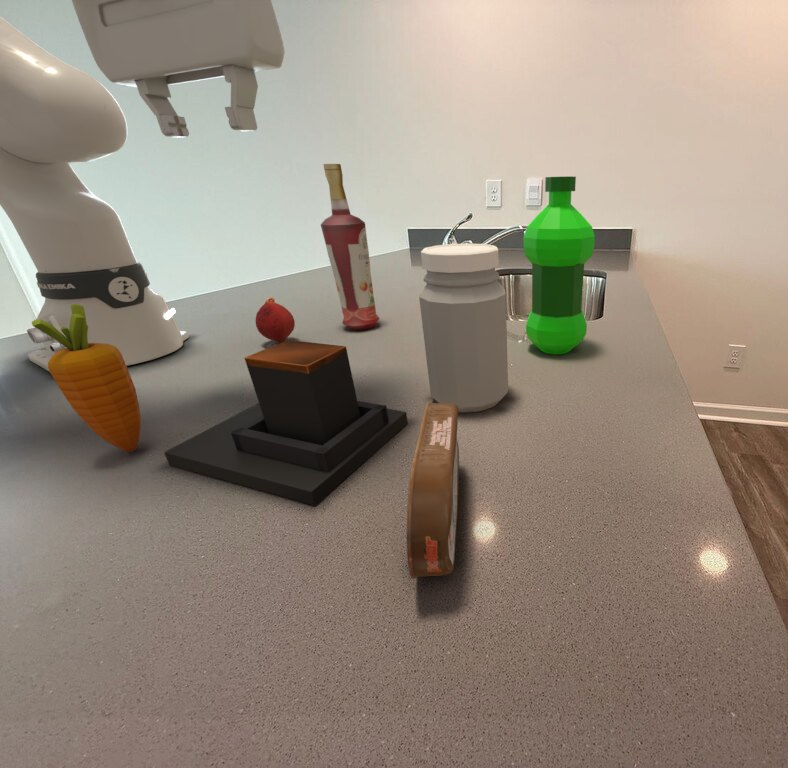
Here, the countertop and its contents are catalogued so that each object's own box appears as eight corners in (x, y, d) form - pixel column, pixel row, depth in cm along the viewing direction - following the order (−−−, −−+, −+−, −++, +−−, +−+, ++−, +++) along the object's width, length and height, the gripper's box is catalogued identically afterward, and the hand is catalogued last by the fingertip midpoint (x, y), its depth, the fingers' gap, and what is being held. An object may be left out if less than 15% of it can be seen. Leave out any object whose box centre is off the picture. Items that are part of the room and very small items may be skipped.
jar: (425, 387, 54) (407, 245, 46) (495, 376, 57) (489, 240, 49) (439, 423, 46) (420, 257, 38) (520, 407, 49) (518, 250, 41)
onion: (283, 349, 69) (270, 302, 65) (254, 347, 70) (240, 301, 66) (306, 338, 74) (295, 294, 70) (278, 336, 75) (266, 293, 71)
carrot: (110, 471, 39) (26, 318, 32) (92, 456, 41) (10, 311, 35) (171, 446, 42) (106, 304, 36) (151, 433, 45) (87, 298, 38)
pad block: (271, 442, 40) (243, 357, 36) (309, 417, 44) (288, 339, 40) (329, 454, 38) (306, 365, 34) (363, 427, 42) (346, 346, 38)
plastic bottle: (548, 365, 60) (553, 175, 49) (512, 345, 68) (509, 178, 57) (600, 352, 64) (614, 175, 54) (560, 334, 73) (566, 178, 62)
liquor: (374, 332, 76) (345, 162, 64) (336, 333, 76) (299, 163, 64) (386, 321, 83) (361, 164, 70) (350, 321, 83) (320, 166, 71)
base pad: (169, 465, 39) (154, 434, 38) (285, 400, 51) (278, 375, 50) (315, 505, 34) (305, 471, 32) (408, 423, 46) (403, 395, 44)
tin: (432, 463, 39) (422, 384, 35) (465, 461, 39) (459, 382, 35) (410, 609, 25) (390, 505, 22) (461, 605, 25) (450, 500, 22)
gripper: (278, -66, 33) (316, 130, 39) (120, -20, 40) (173, 142, 46) (203, -115, 28) (260, 121, 34) (34, -53, 35) (107, 136, 40)
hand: (209, 133), depth 40 cm, fingers open, 8 cm apart
